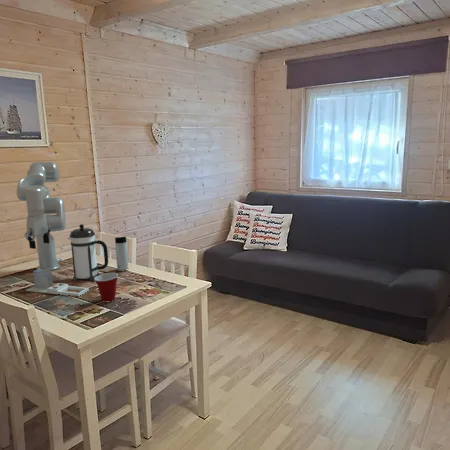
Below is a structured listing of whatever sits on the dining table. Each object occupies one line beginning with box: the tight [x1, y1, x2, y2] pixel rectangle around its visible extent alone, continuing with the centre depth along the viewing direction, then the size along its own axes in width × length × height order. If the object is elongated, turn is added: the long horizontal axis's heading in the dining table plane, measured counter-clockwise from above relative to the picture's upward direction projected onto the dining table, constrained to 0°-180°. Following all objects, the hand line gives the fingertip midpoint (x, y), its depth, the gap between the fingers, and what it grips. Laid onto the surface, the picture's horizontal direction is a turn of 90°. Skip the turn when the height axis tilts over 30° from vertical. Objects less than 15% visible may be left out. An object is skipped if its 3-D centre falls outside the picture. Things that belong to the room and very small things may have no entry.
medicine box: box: [32, 269, 54, 288], centre depth 203 cm, size 8×4×9 cm, turn 74°
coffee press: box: [67, 223, 109, 282], centre depth 215 cm, size 17×16×30 cm
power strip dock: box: [46, 282, 90, 297], centre depth 197 cm, size 8×18×3 cm, turn 73°
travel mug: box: [114, 236, 129, 272], centre depth 229 cm, size 6×7×20 cm
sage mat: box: [25, 282, 58, 294], centre depth 204 cm, size 12×12×1 cm
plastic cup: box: [93, 272, 119, 302], centre depth 186 cm, size 11×11×12 cm
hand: (39, 245), depth 203 cm, fingers open, 9 cm apart
